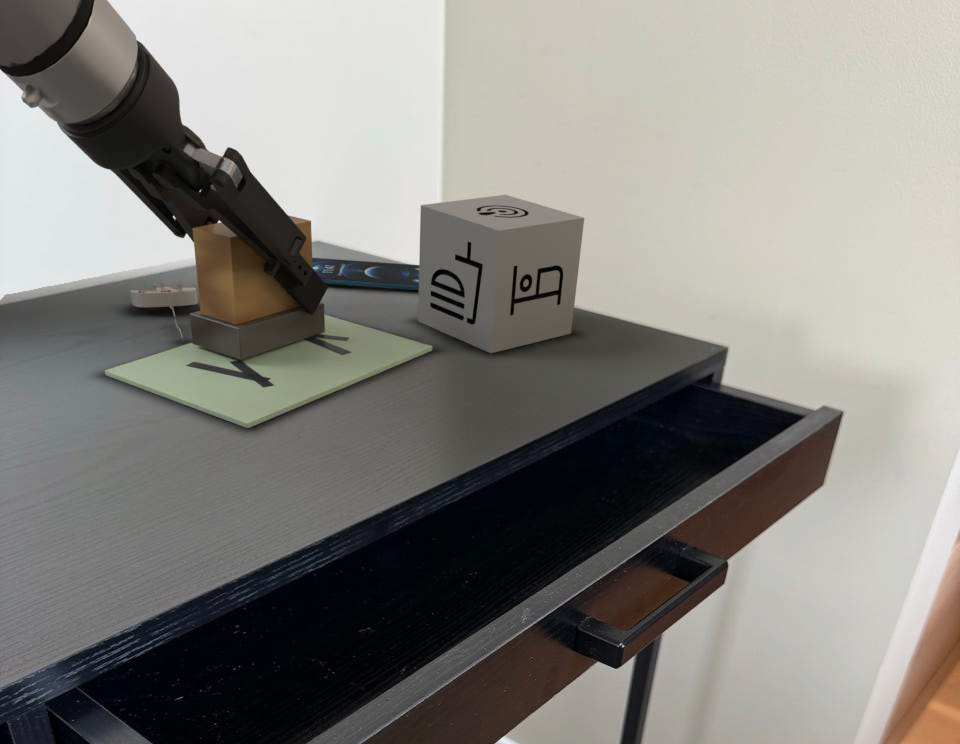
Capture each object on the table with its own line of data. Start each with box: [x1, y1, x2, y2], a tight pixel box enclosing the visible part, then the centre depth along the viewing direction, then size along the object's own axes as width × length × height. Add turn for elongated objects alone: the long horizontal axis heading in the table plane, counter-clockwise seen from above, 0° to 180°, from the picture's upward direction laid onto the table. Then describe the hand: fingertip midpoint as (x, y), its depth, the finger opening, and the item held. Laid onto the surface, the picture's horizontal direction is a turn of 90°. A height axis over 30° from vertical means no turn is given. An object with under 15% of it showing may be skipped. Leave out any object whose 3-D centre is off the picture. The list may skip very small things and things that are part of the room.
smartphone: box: [312, 257, 419, 291], centre depth 99 cm, size 8×1×15 cm
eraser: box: [189, 214, 325, 360], centre depth 79 cm, size 6×10×9 cm, turn 146°
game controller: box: [130, 280, 199, 343], centre depth 85 cm, size 6×12×3 cm, turn 40°
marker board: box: [104, 314, 433, 429], centre depth 79 cm, size 15×22×1 cm
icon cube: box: [417, 194, 585, 354], centre depth 86 cm, size 10×10×10 cm
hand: (289, 291), depth 82 cm, fingers closed on eraser, 5 cm apart
